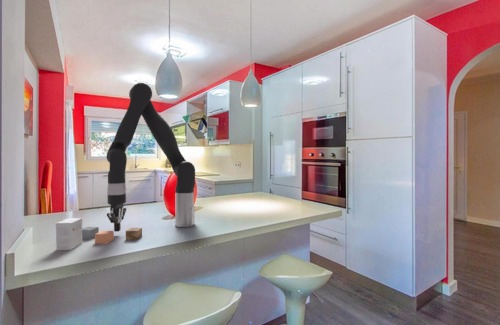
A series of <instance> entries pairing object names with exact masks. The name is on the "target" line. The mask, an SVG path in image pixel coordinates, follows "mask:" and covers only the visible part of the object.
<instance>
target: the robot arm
mask: <svg viewBox="0 0 500 325" xmlns="http://www.w3.org/2000/svg"><path fill="white" fill-rule="evenodd" d="M128 96H129V99H130V101H129V105H128V107H127V109H126V112H125V114H124V116H123V118H122V120H121V122H120V124H119V125H118V128H117V131H116V133H115V136H114V139H113V141H112V143H111V145H110V146H109V148H108V151H107V153H106V157H105V158H106V159H107V160H106V161H107V162H108V163H109V170H108V173H107V190H106V191H107V192H106V194H107V195H106V196H107V204H108V205H110V208H109V210H110V212H109V213H107V214H106V217H107V218H108V220H109V222H110V223H111V224H113V231H114V232H120V231H121V228H122V227H121V223H122V221H123V220H124V218H125V215H126V212H127V208H126V207H125V206H124V205H125V203H126V202H127V184H126V170H127V169H126V168H127V162H128V161H127V159H128V158H127V157H128V156H127V154H126V151H127V148H128V147H129V146H130V145H131V144H132V140H133V139H134V136H135V133H136V130H137V127H138V124H139V122H140V119H141V116H142V118H143V120H144V122H145V124H146V126H147V127H148V130H149V131H150V133H151V135H152V137H153V139H154V140H155V141H156V143H157V145H158V147H159V148H160V149H161V151H162V153H163V154H164V155H165V157H166V158H167V160H168V161H169V164H170V166H171V168H172V171H173V173H174V175H175V176H176V185H175V189H174V190H175V191H174V192H175V194H174V195H175V200H174V201H175V202H174V203H175V204H174V205H175V206H174V208H175V209H174V210H175V213H174V214H175V216H174V218H175V219H174V220H175V221H174V222H175V226H176V227H177V228H189V227H193V226H194V225H195V221H196V220H195V218H196V215H195V210H196V208H195V207H196V206H195V205H194V197H195V196H194V189H195V186H196V167H195V165H194V164H193V163H192V162H190V161H187V160H186V158H185V157H184V156H183V154H182V153H181V151H180V148H179V144H178V141H177V138H176V136H175V134H174V132H173V130H172V128H171V126H170V125H169V124H168V122H167V121H166V120H165V118H163V117H162V116H161V115H160V114H159V112H158V111H157V110H156V109H155V106H154V104H153V102H152V97H153V91H152V89H151V87H150V85H149V84H147V83H144V82H138V83H135V84H134V85H133V86H132V87H131V89H130V90H129V93H128Z"/></svg>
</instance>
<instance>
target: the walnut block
mask: <svg viewBox="0 0 500 325" xmlns="http://www.w3.org/2000/svg"><path fill="white" fill-rule="evenodd" d="M142 237H143V227H129V228H127V229H126V230H125V241H138V240H139V239H140V238H142Z"/></svg>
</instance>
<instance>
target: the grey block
mask: <svg viewBox="0 0 500 325" xmlns="http://www.w3.org/2000/svg"><path fill="white" fill-rule="evenodd" d="M98 232H100V230H99V226H86V227H84V228H82V240H92V239H95V234H96V233H98Z"/></svg>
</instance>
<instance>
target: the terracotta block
mask: <svg viewBox="0 0 500 325" xmlns="http://www.w3.org/2000/svg"><path fill="white" fill-rule="evenodd" d="M114 232H115V231H114V230H99V232H98V233H96V234H95V238H94V244H100V245H101V244H103V245H105V244H106V245H107V244H109V243H110V242H112V240H113V241H114V240H115V239H114V238H115V237H114V235H115V234H114Z"/></svg>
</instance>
